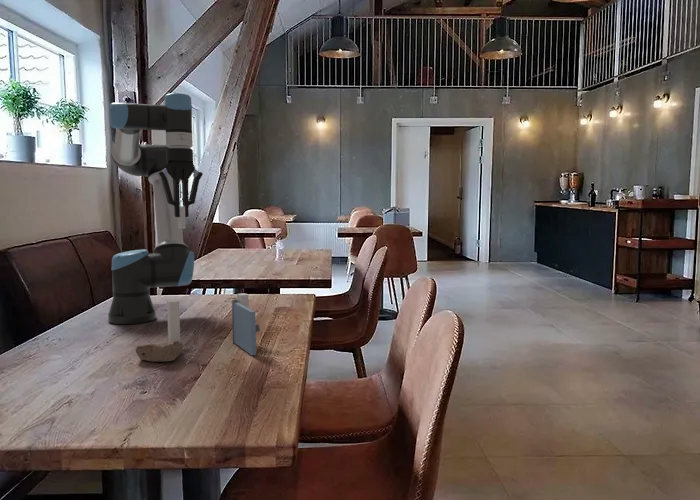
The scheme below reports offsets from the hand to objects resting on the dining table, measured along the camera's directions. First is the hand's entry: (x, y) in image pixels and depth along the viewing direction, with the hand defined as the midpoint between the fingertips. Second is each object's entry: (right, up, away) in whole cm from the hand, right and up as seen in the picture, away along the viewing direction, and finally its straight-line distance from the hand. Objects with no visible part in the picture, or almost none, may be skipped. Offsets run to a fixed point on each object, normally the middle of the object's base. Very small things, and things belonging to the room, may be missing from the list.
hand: (181, 228), depth 171 cm
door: (+21, -34, -12) cm, 42 cm away
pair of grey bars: (+11, -34, -10) cm, 37 cm away
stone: (+5, -35, -23) cm, 42 cm away
